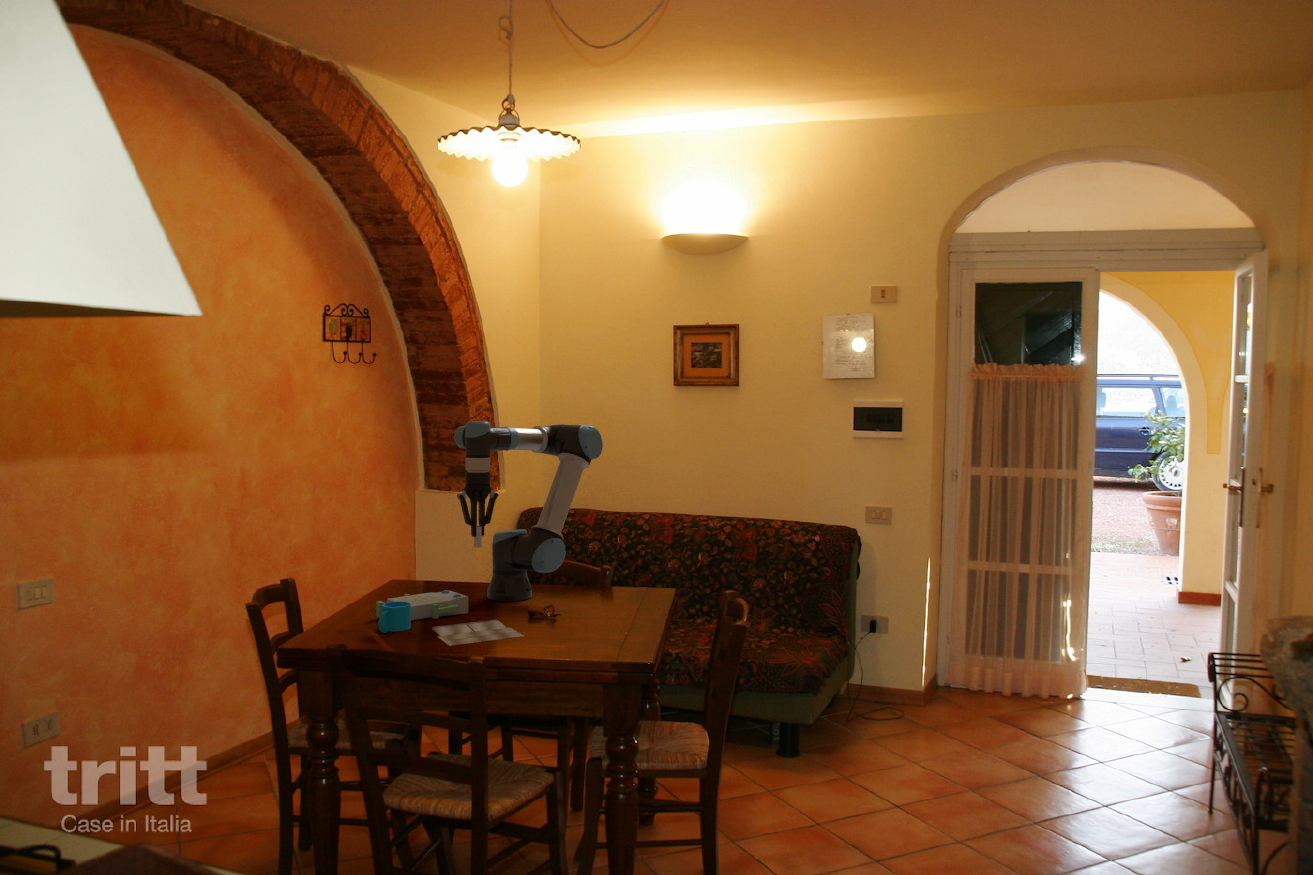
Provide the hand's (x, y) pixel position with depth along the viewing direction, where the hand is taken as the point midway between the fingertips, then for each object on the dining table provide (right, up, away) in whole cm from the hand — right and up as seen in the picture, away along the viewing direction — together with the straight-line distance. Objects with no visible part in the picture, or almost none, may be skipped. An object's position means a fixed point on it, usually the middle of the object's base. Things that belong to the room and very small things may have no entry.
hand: (477, 546), depth 292 cm
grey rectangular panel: (+5, -23, -14) cm, 27 cm away
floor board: (+6, -24, -25) cm, 35 cm away
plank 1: (-4, -23, -19) cm, 30 cm away
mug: (-21, -23, -18) cm, 37 cm away
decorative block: (-18, -23, +3) cm, 29 cm away
